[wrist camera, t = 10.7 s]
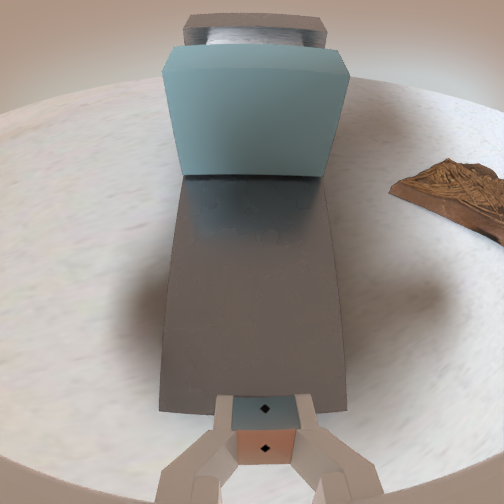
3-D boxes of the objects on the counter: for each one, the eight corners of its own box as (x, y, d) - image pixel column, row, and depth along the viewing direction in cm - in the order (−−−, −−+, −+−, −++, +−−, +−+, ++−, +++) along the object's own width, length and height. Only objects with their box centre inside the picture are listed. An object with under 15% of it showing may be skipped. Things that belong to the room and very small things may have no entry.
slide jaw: (323, 176, 20) (350, 75, 13) (182, 174, 20) (161, 71, 13) (317, 145, 21) (337, 50, 15) (188, 143, 21) (173, 46, 14)
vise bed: (336, 411, 15) (437, 401, 6) (168, 411, 15) (78, 405, 6) (302, 112, 27) (317, 13, 18) (201, 111, 26) (192, 11, 18)
